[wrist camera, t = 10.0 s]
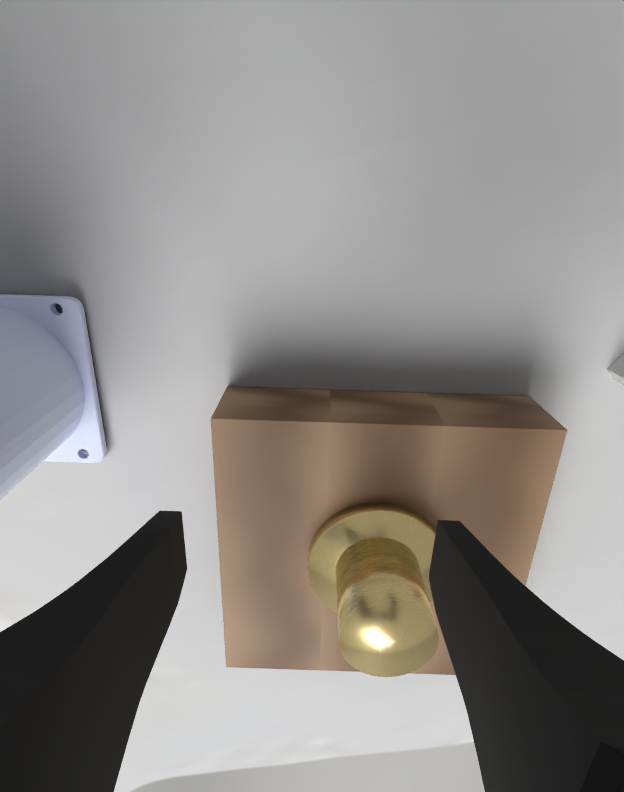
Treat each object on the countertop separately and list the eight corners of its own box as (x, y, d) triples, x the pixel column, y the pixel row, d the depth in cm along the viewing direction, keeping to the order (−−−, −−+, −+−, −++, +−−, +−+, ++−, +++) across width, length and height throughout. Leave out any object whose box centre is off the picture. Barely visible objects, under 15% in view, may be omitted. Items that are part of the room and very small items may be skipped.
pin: (309, 561, 24) (305, 696, 18) (309, 464, 22) (305, 576, 15) (421, 563, 24) (461, 699, 18) (433, 465, 22) (484, 579, 15)
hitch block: (237, 610, 26) (226, 667, 23) (227, 386, 21) (211, 418, 18) (478, 619, 26) (500, 676, 23) (529, 396, 21) (567, 430, 18)
